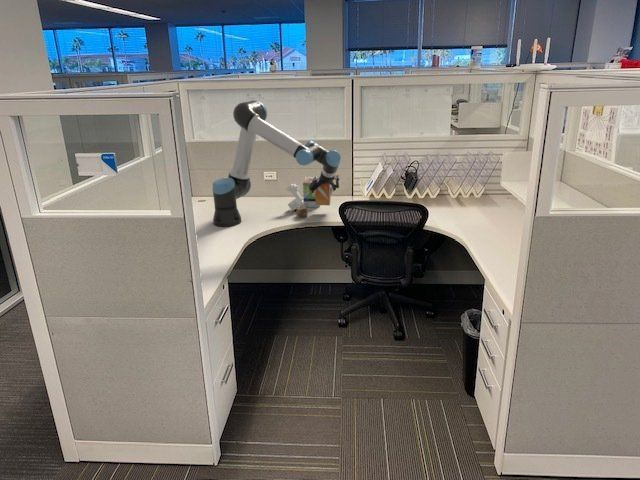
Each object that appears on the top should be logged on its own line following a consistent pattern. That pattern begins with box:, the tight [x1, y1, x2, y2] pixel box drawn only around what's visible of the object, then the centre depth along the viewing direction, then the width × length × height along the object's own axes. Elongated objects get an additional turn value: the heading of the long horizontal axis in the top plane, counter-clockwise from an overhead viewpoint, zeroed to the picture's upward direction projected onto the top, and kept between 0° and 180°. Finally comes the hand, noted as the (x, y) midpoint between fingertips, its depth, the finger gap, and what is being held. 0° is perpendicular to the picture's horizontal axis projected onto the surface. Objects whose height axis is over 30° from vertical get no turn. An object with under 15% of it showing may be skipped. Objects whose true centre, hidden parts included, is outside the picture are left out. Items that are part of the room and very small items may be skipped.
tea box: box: [302, 177, 321, 208], centre depth 284 cm, size 15×10×15 cm, turn 171°
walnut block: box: [296, 205, 308, 219], centre depth 262 cm, size 5×5×5 cm
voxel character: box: [285, 183, 304, 212], centre depth 272 cm, size 7×12×15 cm
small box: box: [316, 183, 332, 206], centre depth 264 cm, size 8×6×13 cm
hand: (321, 194), depth 268 cm, fingers closed on small box, 9 cm apart
